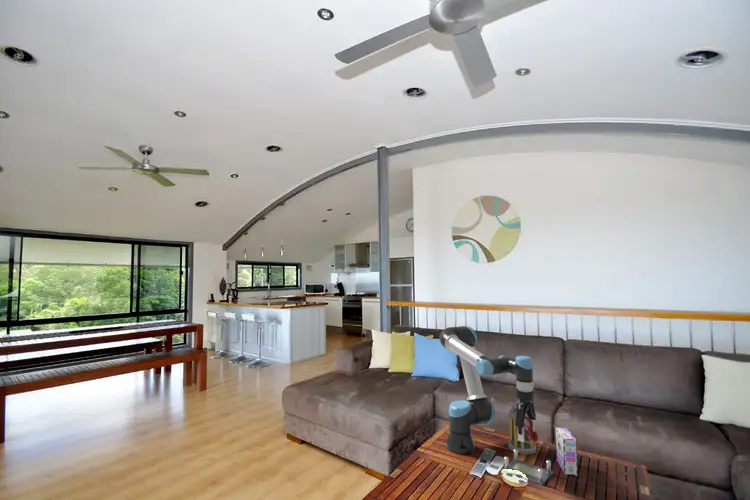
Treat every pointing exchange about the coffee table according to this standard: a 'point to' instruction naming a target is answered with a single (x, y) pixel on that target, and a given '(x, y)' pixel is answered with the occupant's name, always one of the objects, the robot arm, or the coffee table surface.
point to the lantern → (522, 447)
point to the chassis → (529, 469)
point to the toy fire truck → (528, 430)
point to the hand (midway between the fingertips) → (526, 437)
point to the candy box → (566, 451)
